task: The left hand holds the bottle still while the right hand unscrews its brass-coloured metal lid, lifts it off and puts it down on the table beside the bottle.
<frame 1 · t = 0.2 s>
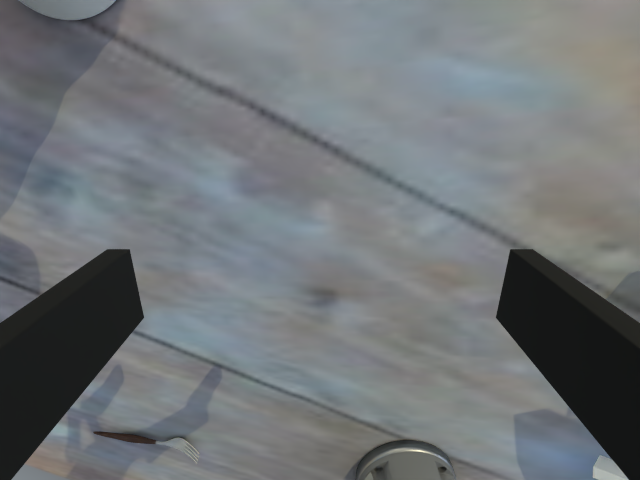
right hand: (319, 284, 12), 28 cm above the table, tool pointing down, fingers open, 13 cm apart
fork: (150, 437, 53), on the table
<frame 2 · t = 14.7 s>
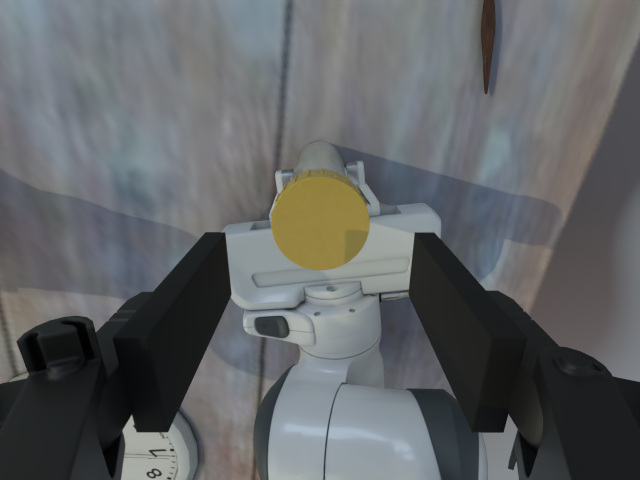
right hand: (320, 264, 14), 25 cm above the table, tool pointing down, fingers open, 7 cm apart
left hand: (318, 166, 30), fingers closed on bottle, 4 cm apart
bottle: (320, 164, 37), on the table, touching left hand
wall clock: (95, 446, 52), on the table
lid: (320, 224, 19), point 19 cm above the table, screwed on, not yet turned
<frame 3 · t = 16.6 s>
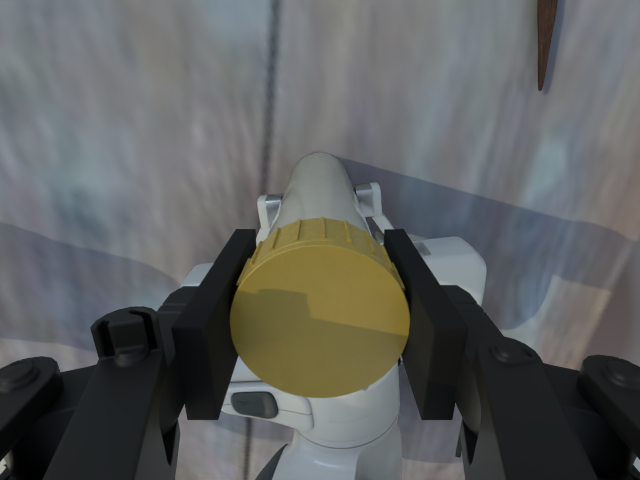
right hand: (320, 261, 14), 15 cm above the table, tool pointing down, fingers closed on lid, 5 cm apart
bottle: (319, 182, 28), on the table, touching left hand
lid: (319, 321, 10), point 19 cm above the table, screwed on, not yet turned, touching right hand
when the right hand's fingers open (0 cm above the table, at t = 27.0 s): lid drops 2 cm, point 2 cm above the table.
when the left hand's fingers open (7 cm above the table, at t = 27.6 s): bottle stays where it is, on the table.
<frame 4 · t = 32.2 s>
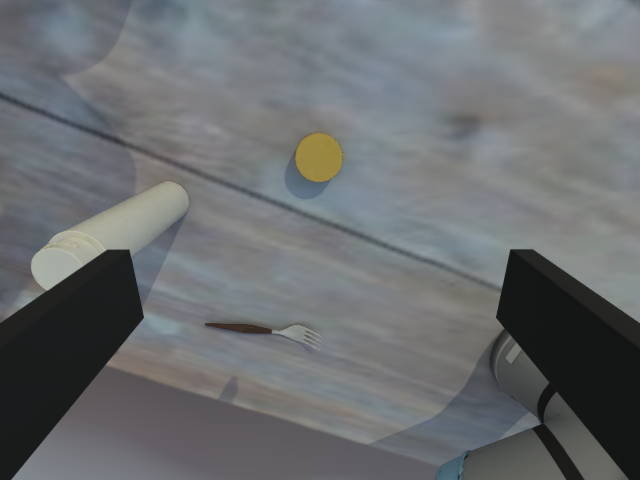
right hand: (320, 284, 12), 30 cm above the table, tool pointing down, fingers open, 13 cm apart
bottle: (170, 200, 42), on the table
lid: (318, 158, 39), point 2 cm above the table, off its thread
fork: (264, 327, 49), on the table
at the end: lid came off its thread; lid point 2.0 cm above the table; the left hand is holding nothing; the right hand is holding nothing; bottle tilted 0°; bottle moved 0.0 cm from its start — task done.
